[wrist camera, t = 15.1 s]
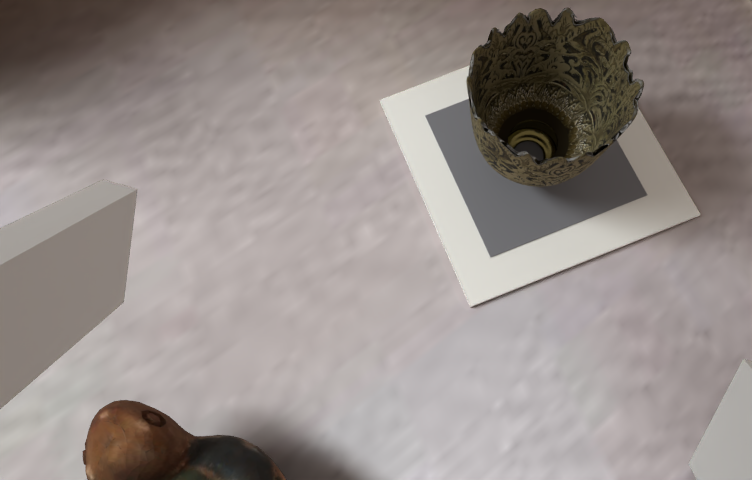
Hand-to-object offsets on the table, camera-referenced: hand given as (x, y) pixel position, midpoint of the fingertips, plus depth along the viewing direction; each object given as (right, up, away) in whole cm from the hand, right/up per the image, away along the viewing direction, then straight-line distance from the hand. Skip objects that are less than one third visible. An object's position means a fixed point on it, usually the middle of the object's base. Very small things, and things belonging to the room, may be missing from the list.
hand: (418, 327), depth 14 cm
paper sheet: (+8, +7, +22) cm, 24 cm away
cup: (+7, +6, +22) cm, 24 cm away
